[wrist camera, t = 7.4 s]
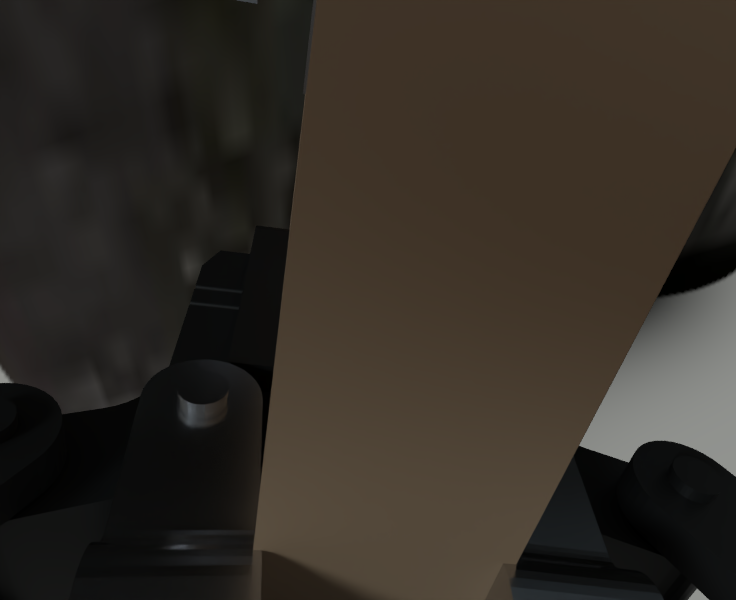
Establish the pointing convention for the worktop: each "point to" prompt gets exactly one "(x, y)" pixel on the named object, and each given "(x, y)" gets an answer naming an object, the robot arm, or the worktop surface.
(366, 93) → the walnut door
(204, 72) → the worktop surface
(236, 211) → the worktop surface
